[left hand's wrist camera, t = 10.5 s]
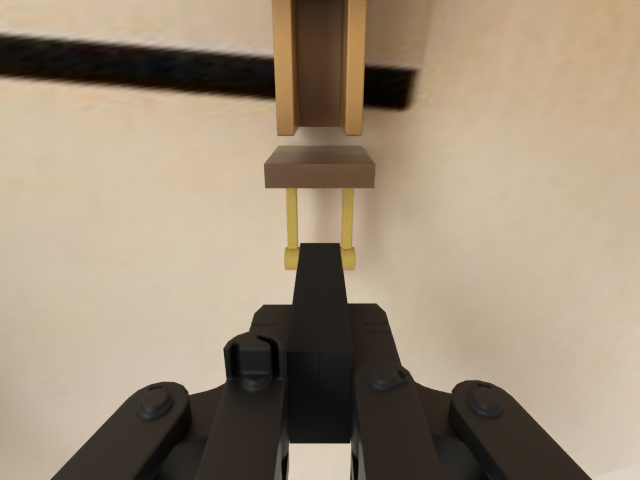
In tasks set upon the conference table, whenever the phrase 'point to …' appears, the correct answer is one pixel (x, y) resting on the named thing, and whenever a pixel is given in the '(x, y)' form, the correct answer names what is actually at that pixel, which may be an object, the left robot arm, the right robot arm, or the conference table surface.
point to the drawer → (319, 106)
